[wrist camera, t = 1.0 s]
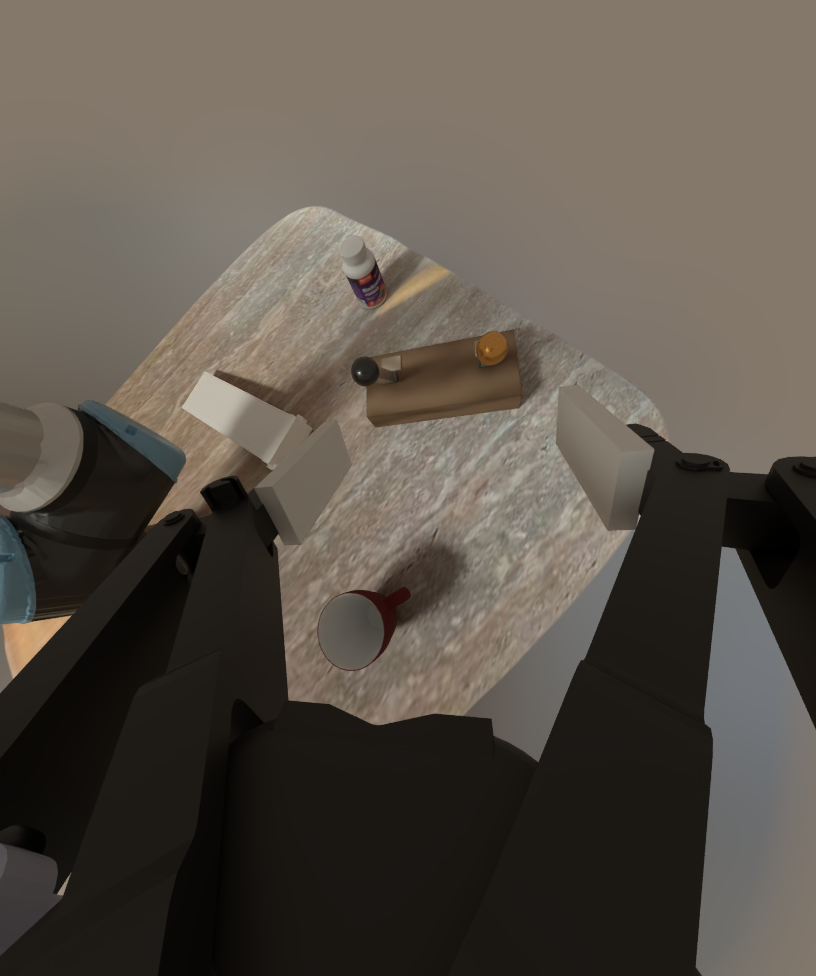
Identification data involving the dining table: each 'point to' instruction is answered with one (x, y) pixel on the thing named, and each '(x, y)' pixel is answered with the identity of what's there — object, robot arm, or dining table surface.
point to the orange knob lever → (491, 349)
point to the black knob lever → (371, 373)
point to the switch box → (443, 383)
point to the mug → (358, 627)
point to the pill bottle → (362, 272)
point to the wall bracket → (247, 419)
